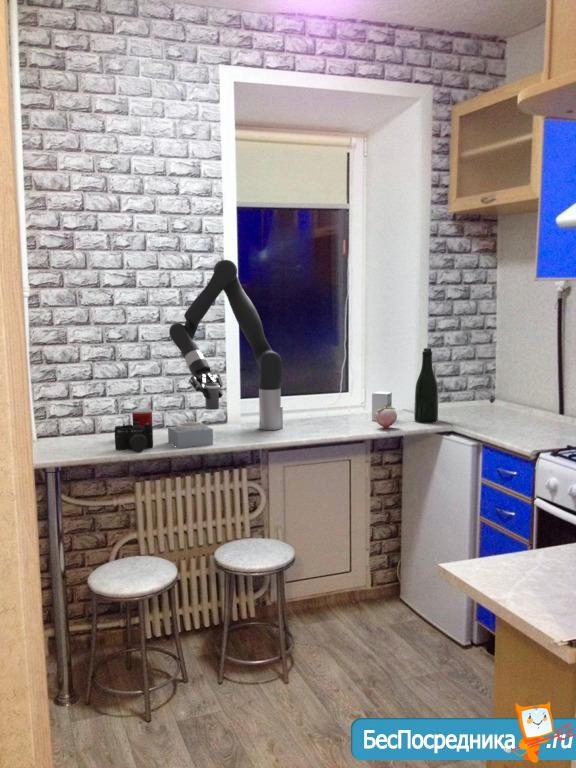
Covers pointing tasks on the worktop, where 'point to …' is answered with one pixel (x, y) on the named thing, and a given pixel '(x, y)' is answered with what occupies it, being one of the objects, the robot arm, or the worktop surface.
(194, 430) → the low grey box
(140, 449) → the camera
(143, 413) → the canned food
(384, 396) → the supplement box
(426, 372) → the dark green wine bottle
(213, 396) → the lens
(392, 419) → the decorative fruit
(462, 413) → the worktop surface
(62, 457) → the worktop surface
